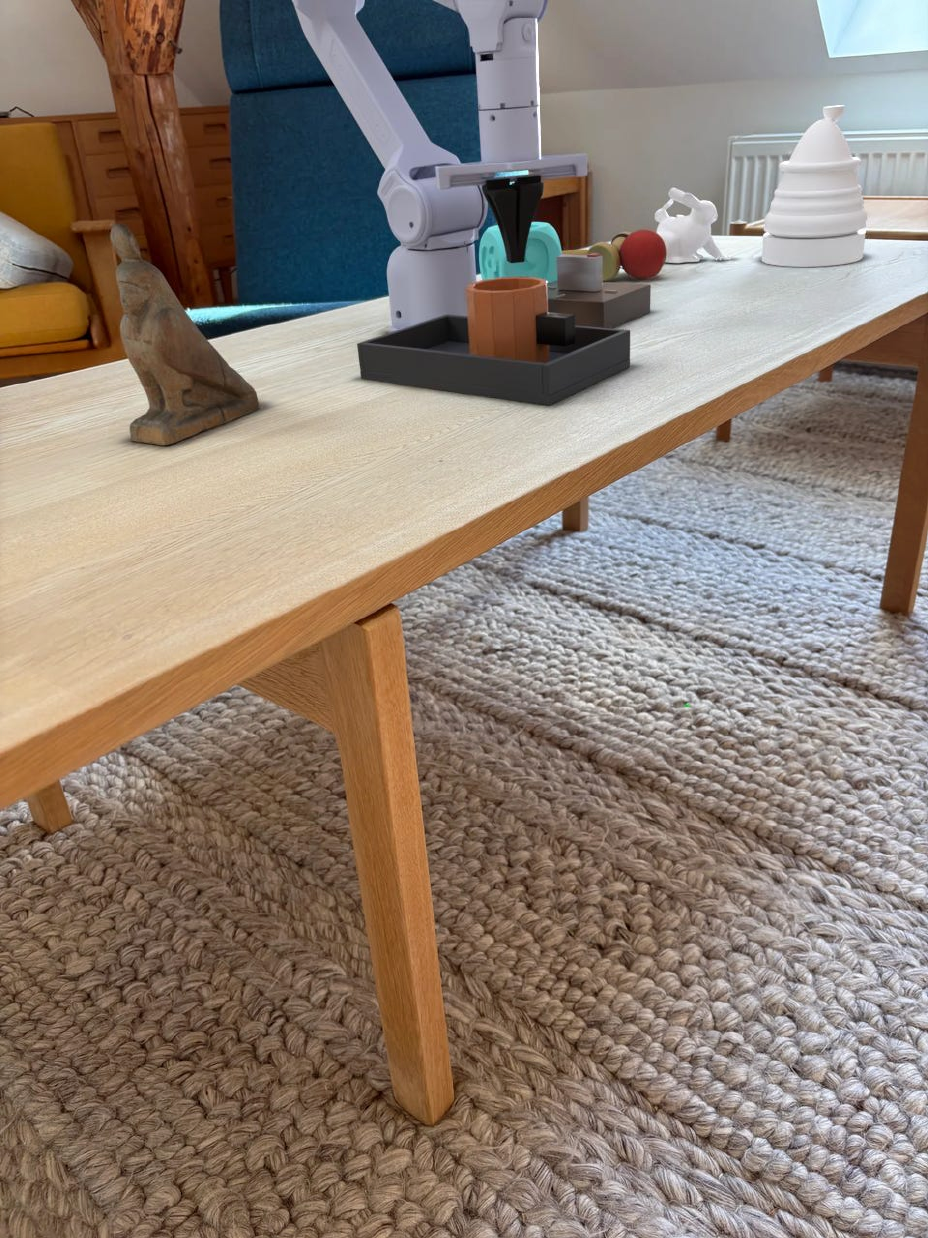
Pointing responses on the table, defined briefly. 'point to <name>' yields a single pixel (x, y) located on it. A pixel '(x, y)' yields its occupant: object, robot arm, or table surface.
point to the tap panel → (601, 303)
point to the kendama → (630, 254)
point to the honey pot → (817, 202)
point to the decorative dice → (537, 255)
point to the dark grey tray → (491, 362)
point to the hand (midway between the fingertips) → (515, 261)
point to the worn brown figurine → (171, 356)
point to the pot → (515, 319)
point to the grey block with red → (580, 272)
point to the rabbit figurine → (688, 229)
